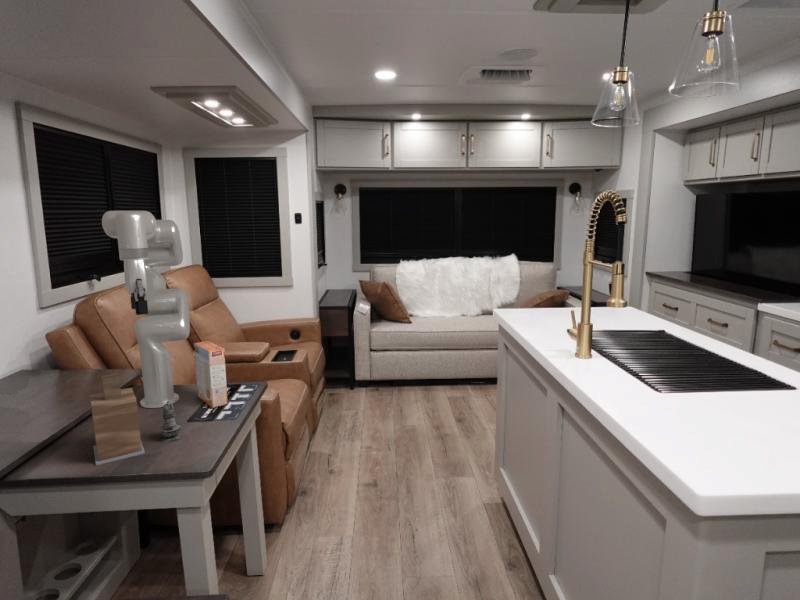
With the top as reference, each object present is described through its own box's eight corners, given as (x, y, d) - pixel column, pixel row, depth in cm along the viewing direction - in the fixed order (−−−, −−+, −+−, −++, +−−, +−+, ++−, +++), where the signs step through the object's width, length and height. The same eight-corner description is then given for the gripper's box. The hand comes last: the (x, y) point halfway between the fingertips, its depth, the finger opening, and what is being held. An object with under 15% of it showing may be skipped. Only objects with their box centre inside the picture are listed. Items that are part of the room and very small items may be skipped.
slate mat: (93, 448, 145) (93, 446, 145) (139, 437, 152) (139, 435, 152) (96, 465, 136) (95, 463, 135) (144, 453, 142) (144, 451, 142)
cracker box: (229, 404, 177) (225, 347, 173) (212, 409, 173) (207, 351, 169) (214, 393, 187) (209, 339, 183) (197, 397, 183) (193, 342, 179)
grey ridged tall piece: (175, 432, 156) (172, 395, 153) (185, 437, 152) (182, 400, 150) (157, 438, 151) (153, 401, 149) (166, 444, 147) (162, 406, 145)
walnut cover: (96, 446, 145) (87, 374, 141) (137, 436, 151) (129, 368, 147) (98, 461, 137) (89, 385, 132) (141, 450, 142) (134, 378, 138)
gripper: (116, 252, 151) (122, 308, 154) (122, 257, 137) (129, 318, 140) (143, 251, 155) (149, 305, 158) (152, 256, 141) (158, 315, 144)
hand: (139, 311), depth 149 cm, fingers open, 9 cm apart
